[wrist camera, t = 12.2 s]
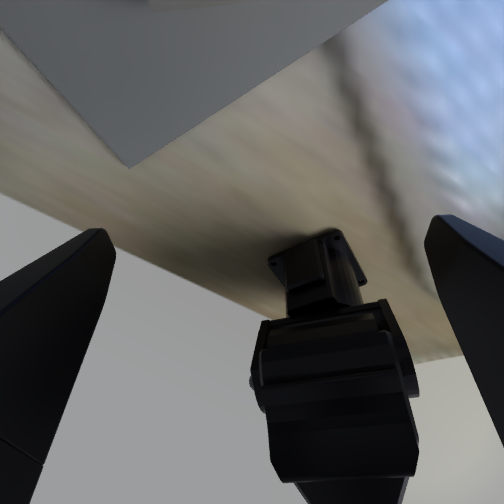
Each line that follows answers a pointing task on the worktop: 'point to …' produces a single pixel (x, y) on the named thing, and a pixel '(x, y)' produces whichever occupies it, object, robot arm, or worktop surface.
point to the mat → (165, 58)
